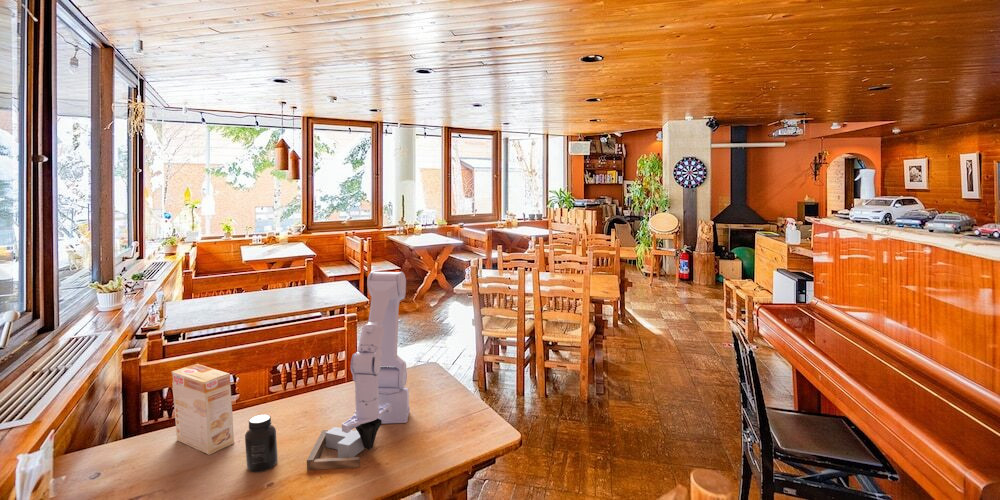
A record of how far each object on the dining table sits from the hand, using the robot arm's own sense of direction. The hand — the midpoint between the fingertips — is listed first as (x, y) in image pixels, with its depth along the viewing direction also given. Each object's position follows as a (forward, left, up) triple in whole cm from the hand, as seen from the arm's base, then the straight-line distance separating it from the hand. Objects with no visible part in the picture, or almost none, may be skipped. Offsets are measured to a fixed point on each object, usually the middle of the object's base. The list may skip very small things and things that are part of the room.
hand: (368, 447), depth 123 cm
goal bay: (+8, 0, -1) cm, 8 cm away
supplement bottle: (+25, +4, -1) cm, 25 cm away
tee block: (+6, -3, -1) cm, 7 cm away
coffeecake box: (+44, -9, -1) cm, 45 cm away
